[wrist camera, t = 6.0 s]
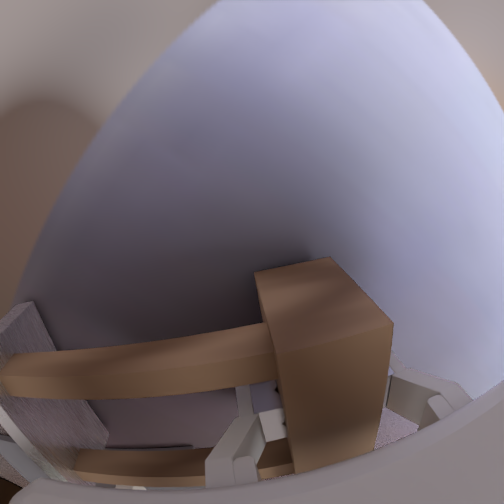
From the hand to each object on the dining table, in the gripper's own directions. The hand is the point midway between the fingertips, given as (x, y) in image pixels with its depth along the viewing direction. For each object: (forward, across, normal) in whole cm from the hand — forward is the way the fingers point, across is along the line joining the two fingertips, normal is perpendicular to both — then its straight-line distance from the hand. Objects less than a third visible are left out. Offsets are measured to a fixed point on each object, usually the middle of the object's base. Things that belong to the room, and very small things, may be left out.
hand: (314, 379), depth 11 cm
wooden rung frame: (+2, +6, 0) cm, 6 cm away
